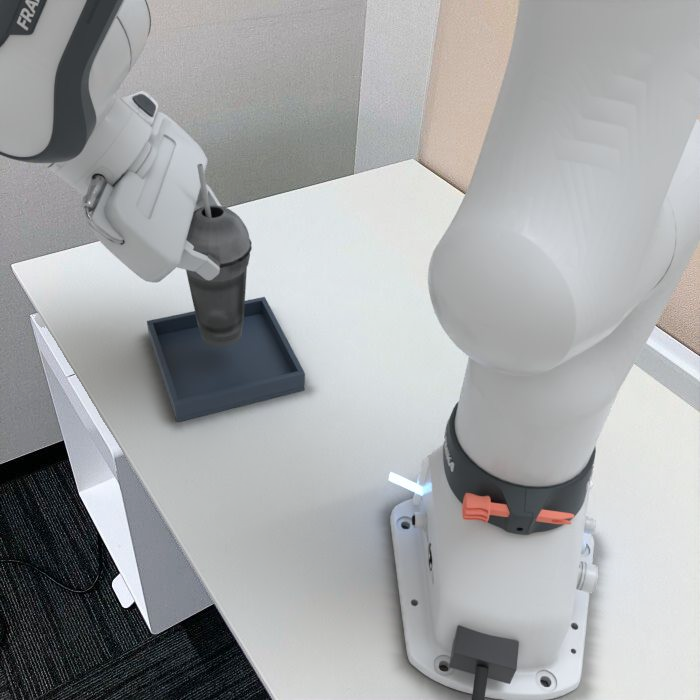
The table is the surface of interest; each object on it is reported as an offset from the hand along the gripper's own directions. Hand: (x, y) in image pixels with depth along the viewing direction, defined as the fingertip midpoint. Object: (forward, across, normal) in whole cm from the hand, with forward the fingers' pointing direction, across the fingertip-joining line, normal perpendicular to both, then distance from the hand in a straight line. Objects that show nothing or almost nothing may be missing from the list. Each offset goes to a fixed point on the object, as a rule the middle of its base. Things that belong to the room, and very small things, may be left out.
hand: (221, 246), depth 74 cm
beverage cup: (+8, 0, +9) cm, 12 cm away
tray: (+11, 0, +12) cm, 16 cm away
